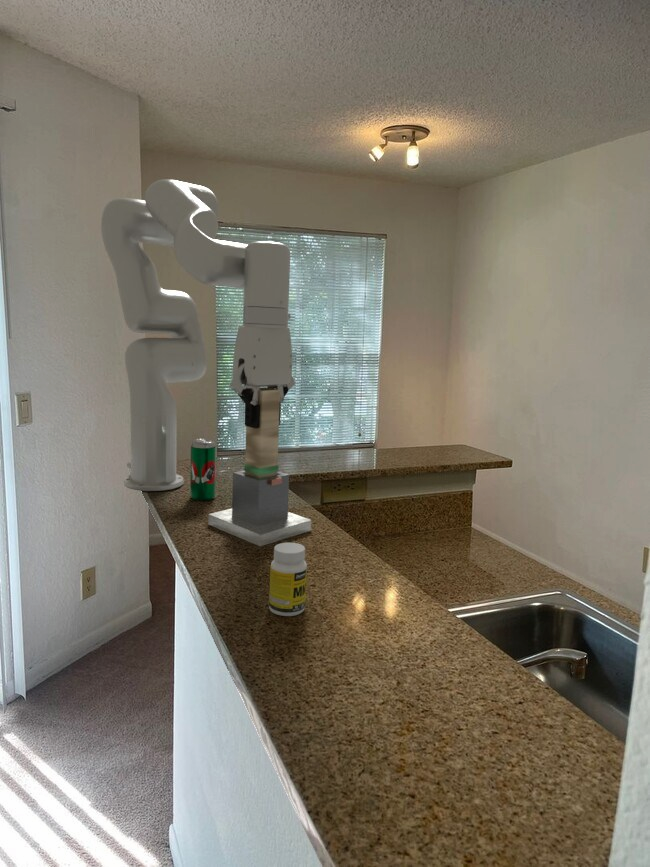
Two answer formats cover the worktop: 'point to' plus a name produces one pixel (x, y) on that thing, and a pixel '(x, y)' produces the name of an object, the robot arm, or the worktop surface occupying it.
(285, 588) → the supplement bottle
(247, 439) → the column
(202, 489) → the soda can
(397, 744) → the worktop surface
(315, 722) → the worktop surface
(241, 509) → the stand base
